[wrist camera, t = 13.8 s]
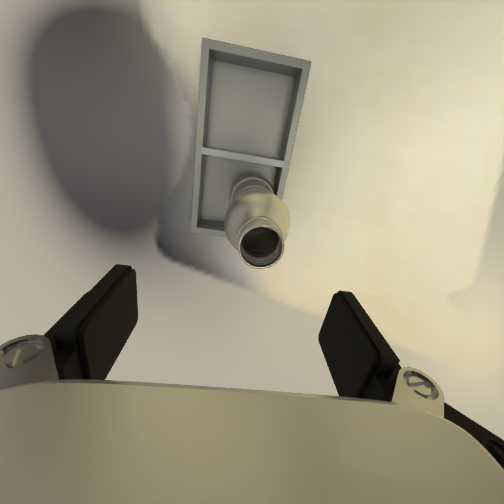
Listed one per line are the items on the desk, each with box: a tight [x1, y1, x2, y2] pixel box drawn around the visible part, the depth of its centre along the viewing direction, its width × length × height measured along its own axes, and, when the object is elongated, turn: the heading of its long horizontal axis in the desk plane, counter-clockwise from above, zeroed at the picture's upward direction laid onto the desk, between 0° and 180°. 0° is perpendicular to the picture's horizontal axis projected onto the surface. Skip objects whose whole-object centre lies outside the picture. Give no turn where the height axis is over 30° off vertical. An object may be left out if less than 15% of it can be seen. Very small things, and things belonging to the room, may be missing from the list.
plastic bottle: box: [224, 174, 290, 269], centre depth 27 cm, size 6×7×20 cm
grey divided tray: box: [191, 38, 311, 237], centre depth 33 cm, size 22×12×5 cm, turn 171°
